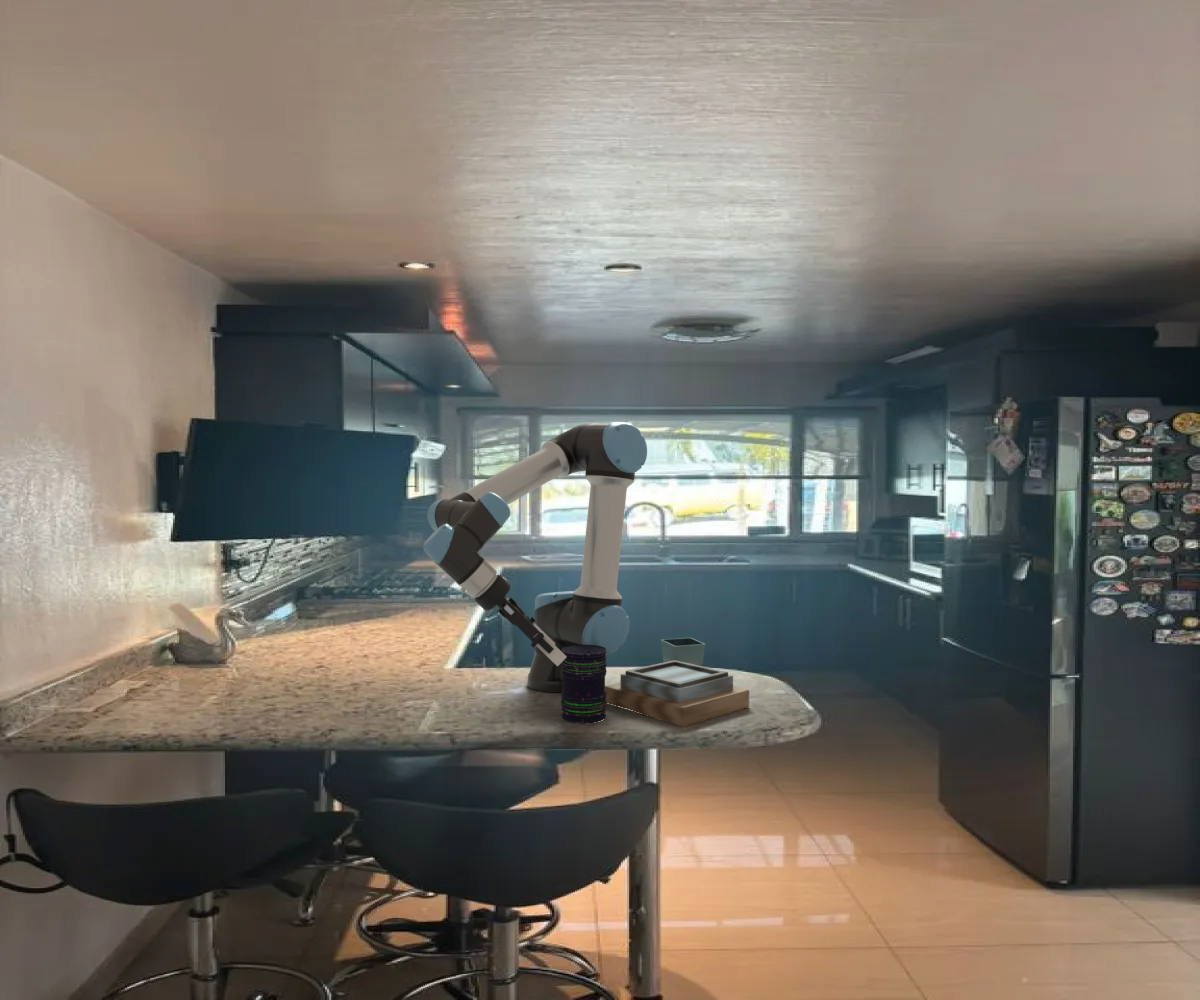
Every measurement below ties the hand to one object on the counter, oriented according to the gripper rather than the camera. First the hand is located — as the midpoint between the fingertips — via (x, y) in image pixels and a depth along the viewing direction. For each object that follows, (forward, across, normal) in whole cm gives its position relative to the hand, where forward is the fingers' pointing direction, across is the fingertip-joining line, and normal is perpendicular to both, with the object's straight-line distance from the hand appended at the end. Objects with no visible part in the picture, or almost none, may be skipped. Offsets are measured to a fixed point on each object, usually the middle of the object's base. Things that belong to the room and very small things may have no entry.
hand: (556, 654), depth 198 cm
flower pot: (+37, -32, +17) cm, 52 cm away
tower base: (+30, -6, +10) cm, 33 cm away
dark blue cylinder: (+14, -1, -6) cm, 16 cm away
